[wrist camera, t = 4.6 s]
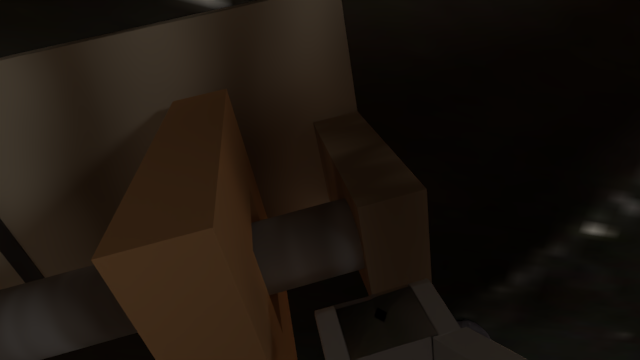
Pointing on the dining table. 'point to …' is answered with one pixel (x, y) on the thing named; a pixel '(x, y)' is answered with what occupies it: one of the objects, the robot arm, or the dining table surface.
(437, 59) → the dining table surface
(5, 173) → the pipe stand
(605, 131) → the dining table surface
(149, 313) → the collar
